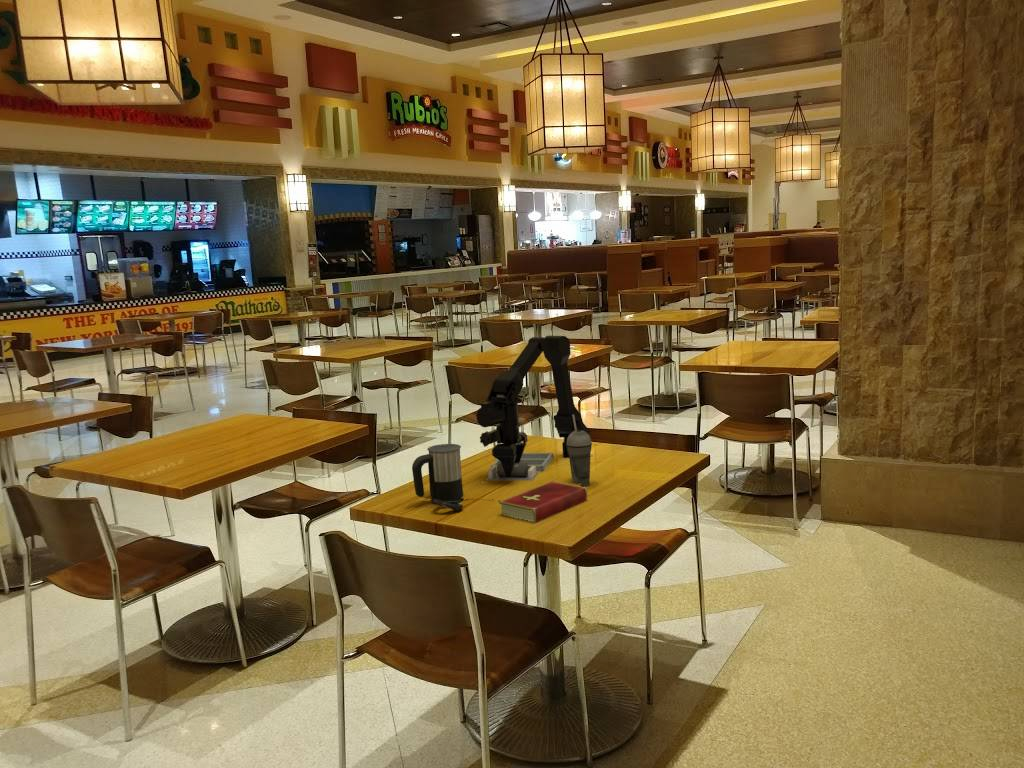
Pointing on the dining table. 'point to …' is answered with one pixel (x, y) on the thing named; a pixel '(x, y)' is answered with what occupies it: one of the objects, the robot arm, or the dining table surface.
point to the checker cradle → (494, 476)
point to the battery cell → (514, 470)
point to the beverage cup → (579, 455)
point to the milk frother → (441, 475)
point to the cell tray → (534, 460)
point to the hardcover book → (543, 501)
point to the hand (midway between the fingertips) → (512, 472)
